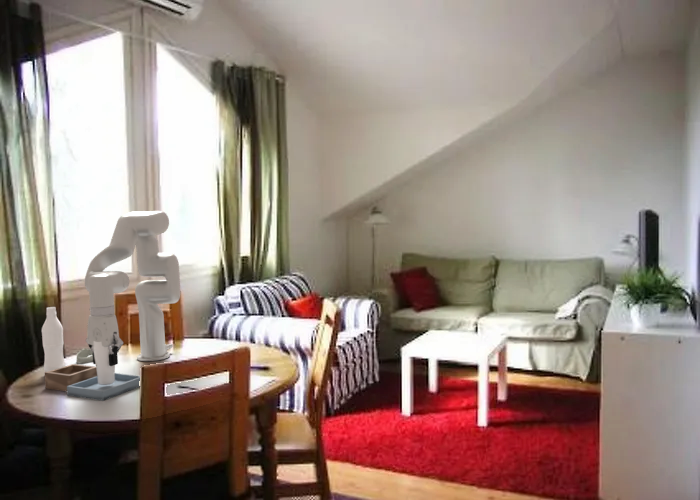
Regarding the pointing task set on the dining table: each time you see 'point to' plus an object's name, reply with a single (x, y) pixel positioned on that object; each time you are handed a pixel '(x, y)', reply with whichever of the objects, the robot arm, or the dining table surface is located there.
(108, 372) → the drinking glass
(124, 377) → the tray
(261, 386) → the dining table surface
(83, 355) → the wristwatch
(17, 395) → the dining table surface
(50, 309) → the water bottle
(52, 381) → the frame
